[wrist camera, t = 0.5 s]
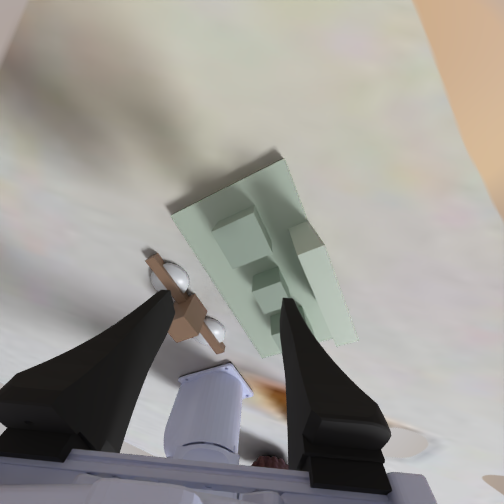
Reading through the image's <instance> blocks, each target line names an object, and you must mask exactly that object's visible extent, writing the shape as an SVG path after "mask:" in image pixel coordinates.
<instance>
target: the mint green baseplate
mask: <svg viewBox="0 0 504 504" xmlns="http://www.w3.org/2000/svg"><path fill="white" fill-rule="evenodd" d="M171 218H172V219H173V221H174V222H175V224H176V225H177V227H178V229H179V230H180V232H181V233H182V235H183V236H184V238H185V239H186V241H187V242H188V244H189V246H190V247H191V249H192V250H193V252H194V253H195V255H196V256H197V258H198V260H199V261H200V263H201V264H202V266H203V267H204V269H205V270H206V272H207V273H208V275H209V277H210V278H211V280H212V281H213V283H214V284H215V286H216V287H217V289H218V290H219V292H220V294H221V295H222V297H223V298H224V300H225V301H226V303H227V304H228V306H229V308H230V309H231V311H232V312H233V314H234V315H235V317H236V318H237V320H238V321H239V323H240V325H241V326H242V328H243V329H244V331H245V332H246V334H247V335H248V337H249V339H250V340H251V342H252V343H253V345H254V346H255V348H256V349H257V351H258V352H259V354H260V356H261V357H262V358H266V357H269V356H273V355H276V354H280V353H282V348H281V340H280V321H279V320H280V313H281V306H282V299H283V298H293V299H294V301H295V303H296V306H297V308H298V310H299V312H300V313H301V315H302V317H303V319H304V321H305V322H306V324H307V326H308V327H309V329H310V330H311V332H312V334H313V335H314V337H315V338H316V339H317V341H318V342H323V341H326V340H330V339H333V340H334V342H335V345H336V347H338V346H342V345H346V344H349V343H353V342H357V341H359V339H358V336H357V333H356V331H355V328H354V325H353V322H352V319H351V317H350V314H349V311H348V308H347V305H346V303H345V300H344V297H343V294H342V291H341V289H340V286H339V283H338V280H337V278H336V275H335V272H334V269H333V266H332V264H331V261H330V258H329V255H328V252H327V250H326V247H325V244H324V243H323V242H322V240H321V239H320V237H319V236H318V234H317V233H316V231H315V230H314V229H313V227H312V226H311V224H310V223H309V221H308V220H307V217H306V214H305V212H304V209H303V206H302V204H301V201H300V198H299V196H298V193H297V190H296V188H295V185H294V182H293V180H292V177H291V174H290V172H289V169H288V166H287V164H286V161H285V158H283V159H281V160H279V161H277V162H275V163H273V164H271V165H269V166H267V167H265V168H263V169H261V170H259V171H257V172H255V173H253V174H251V175H249V176H247V177H245V178H243V179H241V180H240V181H238V182H236V183H234V184H232V185H230V186H228V187H226V188H224V189H222V190H220V191H218V192H216V193H214V194H212V195H210V196H208V197H206V198H204V199H202V200H200V201H198V202H196V203H194V204H192V205H190V206H188V207H186V208H184V209H182V210H180V211H178V212H176V213H174V214H173V215H171Z"/></svg>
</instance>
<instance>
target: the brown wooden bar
mask: <svg viewBox="0 0 504 504" xmlns="http://www.w3.org/2000/svg"><path fill="white" fill-rule="evenodd" d="M145 261H146V263H147V264H148V265H149V267H150V268H151V269H152V273H151V283H152V285H153V287H154V288H155V289H156V290H157V291H160V290H170V291H171V296H172V297H173V298H174V299H175V302H174V304H173V305H174V309H175V315H174V318H173V321H172V324H171V326H170V329H169V331H168V333H169V334H170V336H171V337H172V338H173V339H174V340H175V342H176V343H178V342H181V341H184V340H187V339H190V338H193V337H194V339H195V340H196V341H198V342H199V343H201V344H204V345H210V346H211V348H212V349H213V350H214V352H215V353H216V354H220V353H223V352H224V350H225V345H224V344H223V342H222V341H223V339H224V336H225V328H224V326H223V325H222V324H221V323H220V322H219V321H217V320H215V319H212V318H205V316H206V313H207V310H206V309H205V307H204V306H203V304H202V303H201V301H200V300H199V299H198V297H197V296H196V294H193V295H190V296H189V295H188V294H187V293H186V290H187V288H188V286H189V276H188V274H187V273H186V271H185V270H184V269H183V268H182V267H180V266H178V265H176V264H173V263H165V262H164V261H163V260H162V258H161V257H160V255H159V254H158V253H157V254H155V255H153V256H150V257H149V258H148V259H147V260H145Z"/></svg>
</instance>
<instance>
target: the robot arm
mask: <svg viewBox="0 0 504 504" xmlns="http://www.w3.org/2000/svg"><path fill="white" fill-rule="evenodd" d="M174 315H175V309H174V305H173V300H172V296H171V291H170V290H160V291H158V292H157V293H156V294H155V295H153V296H152V297H151V298H150V299H148V300H147V301H146V302H144V303H143V304H142V305H141V306H139V307H138V308H137V309H135V310H134V311H133V312H131V313H130V314H129V315H127V316H126V317H124V318H123V319H122V320H120V321H119V322H117V323H116V324H115V325H113V326H111V327H110V328H108V329H107V330H105V331H104V332H102V333H100V334H99V335H97V336H95V337H94V338H92V339H90V340H88V341H86V342H84V343H83V344H81V345H79V346H77V347H75V348H73V349H71V350H69V351H67V352H65V353H63V354H61V355H59V356H57V357H55V358H53V359H50V360H48V361H46V362H44V363H41V364H39V365H37V366H34V367H32V368H29V369H27V370H25V371H22V372H20V373H17V374H16V375H15V376H14V377H13V378H12V379H11V380H10V381H9V382H7V383H6V384H5V385H4V386H3V387H2V388H1V389H0V422H1V423H2V424H3V425H4V426H6V427H7V429H6V430H5V431H4V432H3V433H2V434H1V436H0V504H437V502H436V500H435V497H434V495H433V493H432V491H431V489H430V487H429V484H428V482H427V480H426V478H425V477H424V476H423V475H420V474H410V473H399V472H391V473H387V474H386V471H385V469H384V466H383V463H385V459H384V456H383V454H382V451H381V449H382V448H383V447H384V445H385V444H386V443H387V442H388V441H389V439H390V437H391V431H390V429H389V427H388V424H387V422H386V420H385V418H384V416H383V414H382V412H381V410H380V408H379V406H378V404H377V403H376V402H374V401H373V400H372V399H371V398H370V397H369V396H368V395H367V394H365V393H364V392H363V391H362V390H361V389H360V388H359V387H358V386H357V385H356V384H355V383H354V382H353V381H352V380H351V379H350V378H349V377H348V376H347V375H346V374H345V373H344V372H343V371H342V370H341V369H340V368H339V367H338V366H337V364H336V363H335V362H334V361H333V360H332V359H331V358H330V356H329V355H328V354H327V353H326V351H325V350H324V349H323V348H322V346H321V345H320V344H319V342H318V341H317V339H316V338H315V337H314V335H313V334H312V332H311V330H310V329H309V327H308V326H307V324H306V322H305V321H304V319H303V317H302V315H301V313H300V312H299V310H298V308H297V306H296V303H295V301H294V299H293V298H283V299H282V306H281V313H280V320H279V321H280V340H281V348H282V355H283V363H284V370H285V379H286V400H287V427H288V468H289V470H286V469H276V468H266V467H255V466H245V465H239V458H240V455H238V444H239V433H240V421H241V409H242V399H244V398H248V397H252V396H253V391H252V390H251V389H250V387H249V386H248V385H247V383H246V382H245V381H244V379H243V378H242V377H241V375H240V374H239V372H238V371H237V370H236V368H235V367H234V366H233V364H231V363H228V364H224V365H221V366H217V367H214V368H210V369H207V370H203V371H200V372H196V373H193V374H189V375H186V376H182V377H180V378H179V380H178V381H179V382H180V383H181V386H180V388H179V391H178V394H177V397H176V399H175V402H174V405H173V408H172V411H171V413H170V416H169V419H168V422H167V425H166V428H165V433H164V451H165V454H166V457H167V458H163V457H153V456H143V455H132V454H122V453H120V450H121V446H122V443H123V440H124V437H125V434H126V431H127V428H128V425H129V422H130V419H131V416H132V413H133V410H134V407H135V404H136V402H137V399H138V396H139V394H140V391H141V388H142V386H143V383H144V381H145V378H146V376H147V373H148V371H149V368H150V366H151V364H152V362H153V360H154V358H155V356H156V354H157V352H158V350H159V348H160V346H161V345H162V343H163V341H164V339H165V337H166V335H167V333H168V331H169V329H170V326H171V324H172V321H173V318H174Z"/></svg>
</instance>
